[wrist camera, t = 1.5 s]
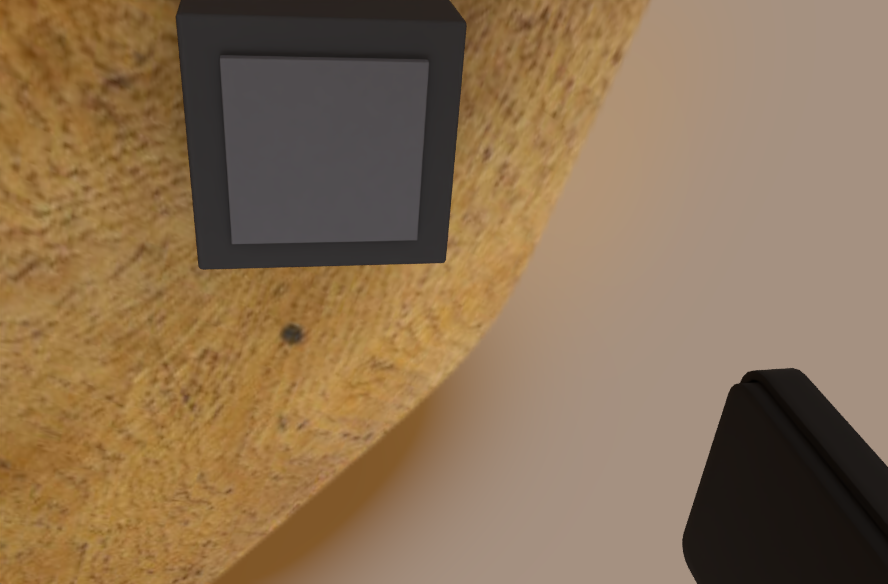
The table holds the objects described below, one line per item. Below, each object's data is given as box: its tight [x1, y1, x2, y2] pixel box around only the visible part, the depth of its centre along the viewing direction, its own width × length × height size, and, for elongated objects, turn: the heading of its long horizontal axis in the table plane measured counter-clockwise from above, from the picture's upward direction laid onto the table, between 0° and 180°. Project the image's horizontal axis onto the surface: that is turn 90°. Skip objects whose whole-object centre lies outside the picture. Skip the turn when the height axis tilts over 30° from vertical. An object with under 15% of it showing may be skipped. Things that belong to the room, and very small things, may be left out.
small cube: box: [176, 0, 467, 269], centre depth 19 cm, size 6×6×5 cm
